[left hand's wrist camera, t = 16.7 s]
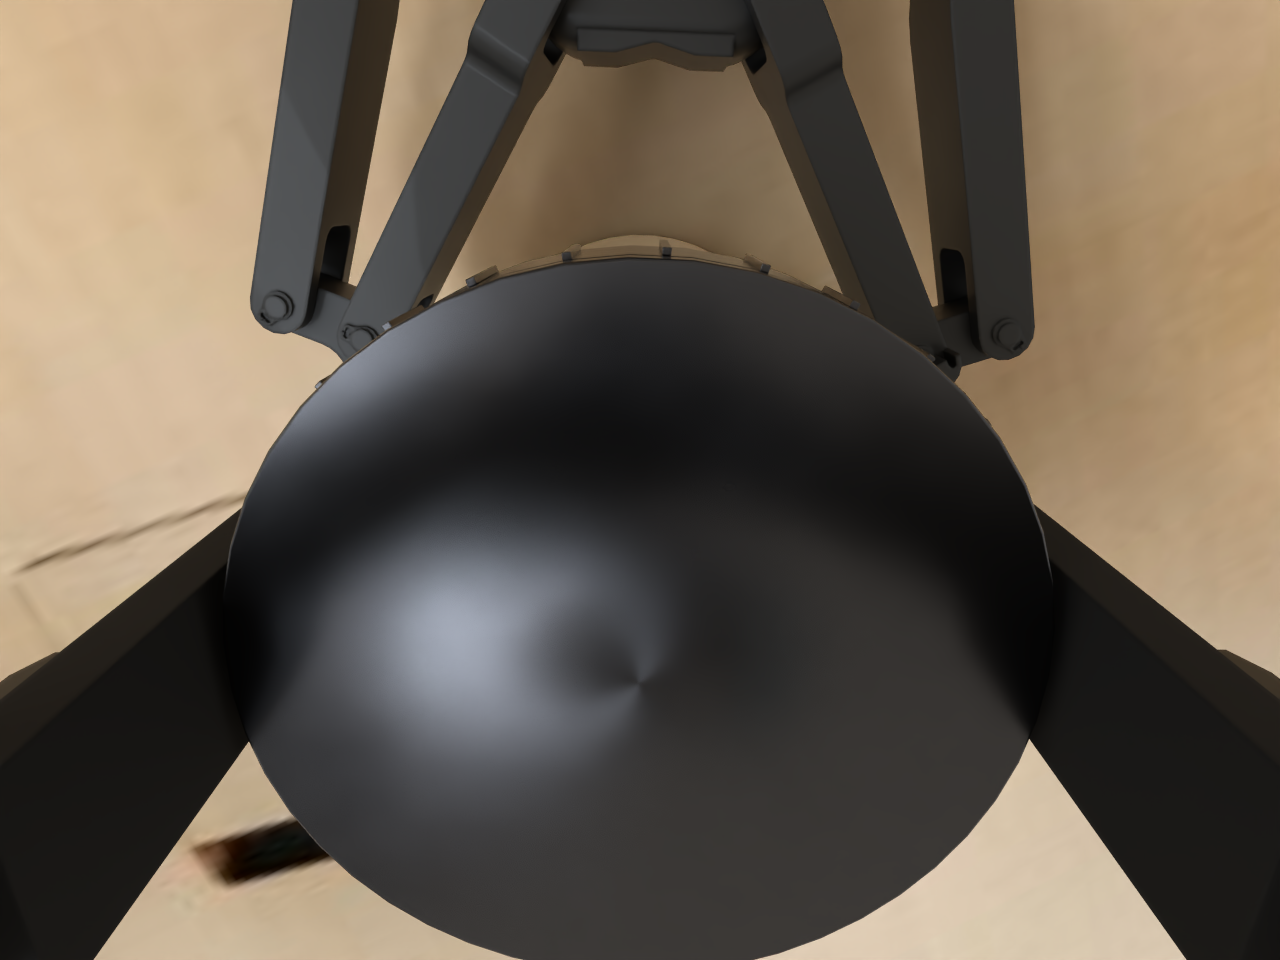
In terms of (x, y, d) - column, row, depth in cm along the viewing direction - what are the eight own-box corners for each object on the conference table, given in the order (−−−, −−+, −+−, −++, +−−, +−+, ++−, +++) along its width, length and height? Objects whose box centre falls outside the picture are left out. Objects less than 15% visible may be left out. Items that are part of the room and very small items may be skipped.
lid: (135, 556, 12) (36, 626, 10) (710, 48, 10) (728, 11, 8) (593, 958, 15) (585, 1073, 13) (1118, 650, 13) (1206, 736, 11)
